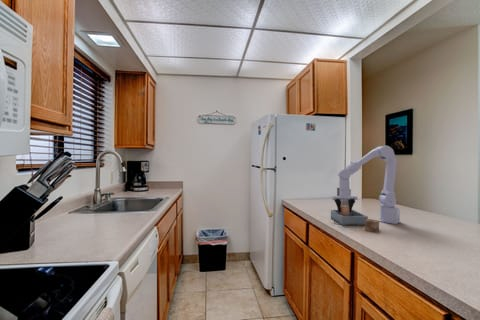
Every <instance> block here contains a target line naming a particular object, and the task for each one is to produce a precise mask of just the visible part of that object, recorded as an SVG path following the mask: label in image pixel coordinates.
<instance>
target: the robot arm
mask: <svg viewBox="0 0 480 320" xmlns="http://www.w3.org/2000/svg"><path fill="white" fill-rule="evenodd" d="M374 158H380V159H382V160H383V161H384V162H386V165H385V171H384V172H385V173H384V178H383V180H384V181H383V188H382V190H381V192H380V195H379V196H378V201H379V202H380V205H379V207H380V210H379V211H380V212H379V213H380V214H379V215H380V216H379V217H380V219H378V220H377V221H379V223H380V222H381V223H388V224H393V225H398V223H400V222H401V214H400V213H401V210H400V207H397V206H396V205H397V199H396V193H395V182H396V174H397V165H398V158H397V156H396V154H395V151H394V149H393V148H392V147H391V146H389V145H382V146H381V145H380V146H377V147H376V148H373V149H372V150H370V151H369V152H367V154H365V155H363V157H361V158H360V159H359V160H357V161H356V160H353V161H352V160H351V161H350V163H349V164H348V165H347V166H343V168H342V169H340V170H339V171H338V174H337V175H338V177H339V182H338V184H339V187H338V188H339V196H337V195H331V200H333V202H334V203H335V205H336V209H337V208H338V211H339V212H341V201H340V200H348V205H349V212H351V210H353V207H354V205H355V202H356V201H357V200H358V196H357V195H351V196H350V189H351V187H350V178H351V176H352V175H353V174H355V173H356V172H358V171H359V170H361V169H362V166H363V165H364V164H366V163H368V162H369V161H371V160H372V159H374ZM342 198H345V199H342Z"/></svg>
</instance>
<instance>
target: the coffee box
mask: <svg viewBox="0 0 480 320" xmlns="http://www.w3.org/2000/svg"><path fill="white" fill-rule="evenodd" d="M351 190H352V189H351V188H350V196H352V194H351V193H352V191H351ZM336 196H339V187H337V188H336ZM342 199H345V198H342ZM340 201H341V206H349V205H348V200H340ZM336 210H338V208H337V207H336Z"/></svg>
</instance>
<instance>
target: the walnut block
mask: <svg viewBox="0 0 480 320" xmlns="http://www.w3.org/2000/svg"><path fill="white" fill-rule="evenodd" d="M364 231H367V232H372V233H377V232H379V231H380V221H378V220H376V219H372V218H371V219H370V218H368V220H365V226H364Z"/></svg>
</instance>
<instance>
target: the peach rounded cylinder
mask: <svg viewBox="0 0 480 320" xmlns="http://www.w3.org/2000/svg"><path fill="white" fill-rule="evenodd" d="M340 215H342V216H349V206H341V212H340Z"/></svg>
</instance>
